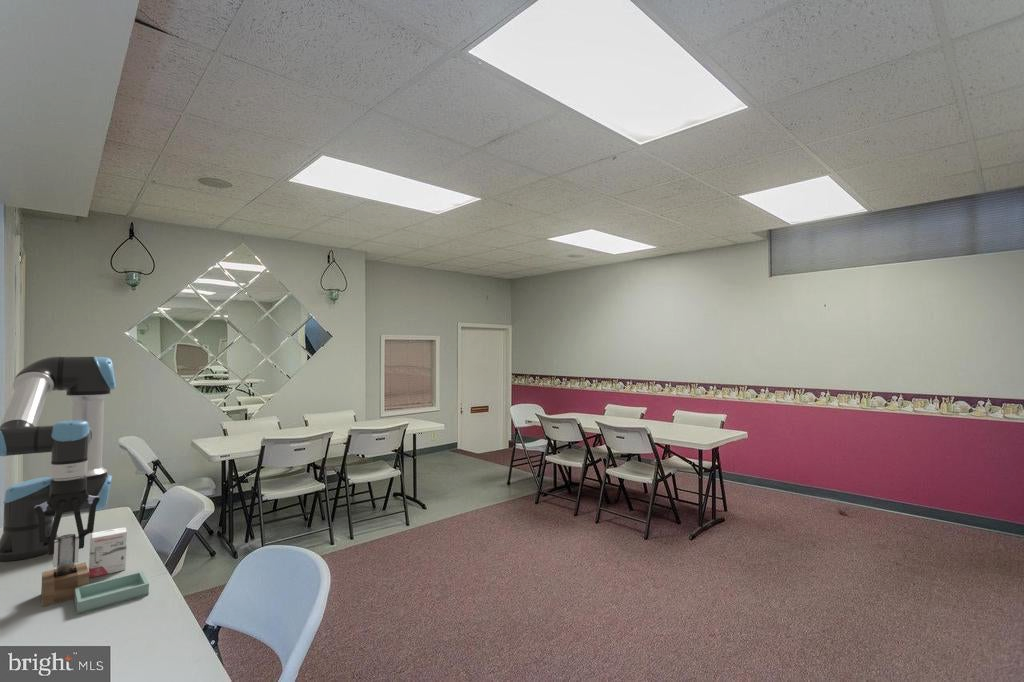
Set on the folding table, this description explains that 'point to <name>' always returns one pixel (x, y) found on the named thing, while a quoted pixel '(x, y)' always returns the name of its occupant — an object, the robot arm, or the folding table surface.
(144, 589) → the tray
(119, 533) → the ink box
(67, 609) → the folding table surface
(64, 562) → the cylinder
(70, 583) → the wooden square holder
